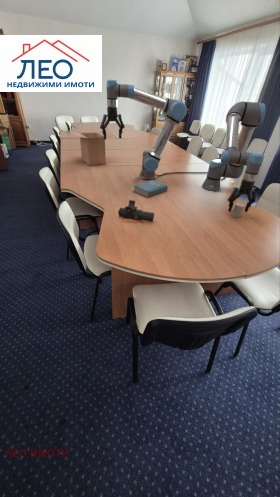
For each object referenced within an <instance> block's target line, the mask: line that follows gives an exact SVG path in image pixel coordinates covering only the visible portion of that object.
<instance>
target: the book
mask: <svg viewBox="0 0 280 497" xmlns="http://www.w3.org/2000/svg"><path fill="white" fill-rule="evenodd" d="M168 187H169V186H168V184H166V183H164V182H160V181H159V180H156V179H153V180H146V181H143V182H140V183H137V184H134V185H133V193H135V194H138V195H140V196H142V197H145V198H150V197H153V196H156V195H159V194H161V193H164V192H167V191H168Z"/></svg>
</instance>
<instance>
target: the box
mask: <svg viewBox="0 0 280 497" xmlns="http://www.w3.org/2000/svg"><path fill="white" fill-rule="evenodd" d="M70 133H71V134H72V135H74V136H75V137H77V138H79V144H80V153H81V160H83V162H85V163H86V165H87V166H95V165H97V166H98V165H106V163H107V162H106V158H107V157H106V140H105V139H104V135H103V132H102V131H98V132H96V131H95V130H92V129H91V130H77V132H76V131H70ZM113 137H114V136H113V135H111V134H109V133H108V132H106V138H113Z"/></svg>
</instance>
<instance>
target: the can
mask: <svg viewBox="0 0 280 497" xmlns="http://www.w3.org/2000/svg"><path fill="white" fill-rule="evenodd" d="M244 209H245V205H244V204H243V203H241V202H236V203H235V204H234V207H233V209H232V212H231V216H232V217H234V218H241V216H242V213H243V212H244Z"/></svg>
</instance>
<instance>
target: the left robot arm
mask: <svg viewBox="0 0 280 497" xmlns="http://www.w3.org/2000/svg"><path fill="white" fill-rule="evenodd" d="M118 98H124V99H129V100H133V101H136V102H138V103H140V104H144V105H147V106H150V107H152V108H156V109H158V110H161V111H162V113H164V114H166V115H165V122H164V124H163V126H162V127H161V129H160V132H159V134H158V135H157V138H156V140H155V142H154V144H153V146H152V148H151V150H143V151H142V159H141V160H142V161H141V169H140V172H139V178H140V179H142V180H146V181H150V180H156V178H157V177H162V176H164V175H169V174H170V175H171V174H207V173H208V171H172V172H165V173H162V174H156V171H157V170H158V168H159V164H160V161H161V160H162V156H161V155H162V153H163V152H164V150H165V148H166V146H167V144H168V142H169V140H170V138H171V136H172V134H173V133H174V130H175V128H176V127H177V126H179V124H180V123H181V121H182V120H183V119H184V118H185V117H186V115H187V111H188V109H187V106H186V104H185V102H183V101H182V100H180V99H179V100H178V99H172V98H168V97H166V98H164V97H161V96H160V95H159V96H158V95H156V94H153V93H150V92H148V91H145V90H143V89H140V88H138V87H135V85H134V84H128V83H127V84H123V83H119V82H118V80H116V79H107V81H106V106H107V107H106V109H107V110H106V113H105V114H104V113H103V116H102V119H101V123H100V126H99V129H101V130H102V131H101V132H103V135H104V139H105V141H106V140H107V137H106V133H107V130H106V129H107V127H108V125H109V124H110V123H111V122H115V123H116V125H117V126H118V139H122V134H123V129H125V124H124V121H123V118H122V114H120V113H118Z"/></svg>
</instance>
